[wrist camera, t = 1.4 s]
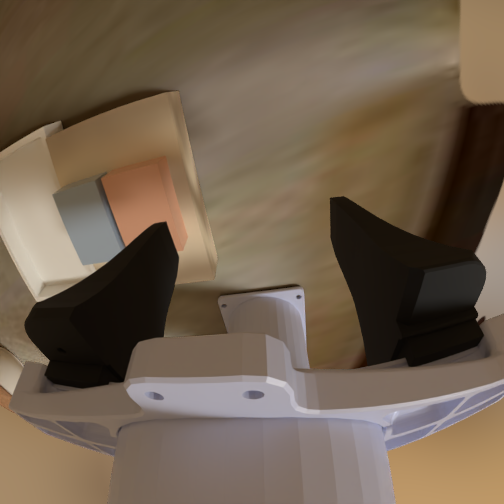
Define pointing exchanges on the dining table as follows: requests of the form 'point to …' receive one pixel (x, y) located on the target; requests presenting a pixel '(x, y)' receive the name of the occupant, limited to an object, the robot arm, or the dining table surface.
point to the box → (36, 217)
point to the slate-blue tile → (89, 220)
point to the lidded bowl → (8, 376)
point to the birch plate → (137, 150)
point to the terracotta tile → (144, 200)
